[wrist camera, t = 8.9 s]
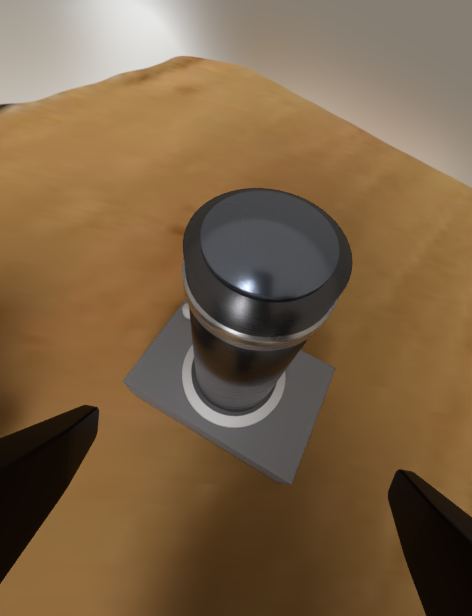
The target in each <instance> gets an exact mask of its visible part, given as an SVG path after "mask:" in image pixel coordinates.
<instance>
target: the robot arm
mask: <svg viewBox="0 0 472 616" xmlns="http://www.w3.org/2000/svg"><path fill="white" fill-rule="evenodd" d="M98 419H99V409H98V408H97V407H94V406H89V405H83V406H80V407H78V408H75V409H73V410H70V411H68V412H65V413H63V414H60V415H58V416H55V417H53V418H50V419H48V420H45V421H43V422H40V423H38V424H35V425H33V426H30V427H28V428H25V429H22V430H20V431H17V432H15V433H12V434H10V435H7V436H5V437H2V438H0V583H1V582H2V581H3V579H4V578H5V576H6V575H7V573H8V572H9V571H10V569H11V568H12V566H13V565H14V563H15V562H16V561H17V559H18V558H19V556H20V555H21V553H22V552H23V551H24V549H25V548H26V546H27V545H28V543H29V542H30V541H31V539H32V538H33V536H34V535H35V533H36V532H37V531H38V529H39V528H40V526H41V525H42V524H43V522H44V521H45V519H46V518H47V516H48V515H49V514H50V512H51V511H52V509H53V508H54V506H55V505H56V504H57V502H58V501H59V499H60V498H61V496H62V495H63V493H64V492H65V490H66V489H67V487H68V485H69V484H70V482H71V480H72V479H73V477H74V475H75V473H76V472H77V470H78V468H79V466H80V465H81V463H82V461H83V459H84V457H85V456H86V454H87V452H88V450H89V449H90V447H91V445H92V443H93V442H94V440H95V438H96V435H97V431H98ZM388 500H389V504H390V508H391V511H392V515H393V518H394V522H395V525H396V529H397V532H398V536H399V539H400V543H401V546H402V550H403V553H404V556H405V559H406V562H407V565H408V568H409V571H410V573H411V576H412V579H413V581H414V584H415V587H416V589H417V592H418V595H419V597H420V600H421V603H422V605H423V608H424V611H425V613H426V616H472V517H470V516H469V515H468V514H467V513H465V512H464V511H463V510H461V509H460V508H459V507H458V506H456V505H455V504H454V503H453V502H451V501H450V500H449V499H447V498H446V497H445V496H444V495H442V494H441V493H440V492H438V491H437V490H436V489H435V488H433V487H432V486H431V485H429V484H428V483H427V482H426V481H424V480H423V479H422V478H420V477H419V476H418V475H417V474H415V473H414V472H411V471H407V470H402V469H399V470H397V471H396V473H395V475H394V478H393V480H392V483H391V486H390V488H389V491H388Z"/></svg>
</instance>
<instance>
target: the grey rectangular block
mask: <svg viewBox="0 0 472 616" xmlns="http://www.w3.org/2000/svg"><path fill="white" fill-rule="evenodd" d="M334 370H335V367H333V366H331V365H329V364H327V363H325V362H323V361H321V360H319V359H317V358H315V357H313V356H312V355H310V354H308V353H306V352H304V351H302V350H300V351H299V352H298V354H297V355H296V356H295V358H294V359H293V360H292V362H291V363H290V365H289V366H288V367H287V369H286V370H285V372H284V373H283V374H282V376H281V377H280V378H279V380H278V381H277V383H276V384H275V385H274V387H273V388H272V389H271V391H270V392H269V394H268V395H267V396H266V398H265V399H264V400H263V401H262V402H261V403H260V404H258V405H257V406H255V407H254V408H252V409H249V410H246V411H242V412H230V411H225V410H222V409H219V408H217V407H215V406H214V405H212V404H211V403H210V402H209V401H208V400H207V399H206V398H205V397H204V396H203V394H202V393H201V391H200V389H199V387H198V384H197V379H196V370H195V361H194V351H193V341H192V331H191V322H190V312H189V305H188V303H187V300H186V299H185V301H184V302H183V303H182V304H181V306H180V307H179V308H178V310H177V311H176V312H175V314H174V315H173V316H172V318H171V319H170V320H169V321H168V323H167V324H166V325H165V327H164V328H163V329H162V331H161V332H160V333H159V335H158V336H157V337H156V338H155V340H154V341H153V342H152V344H151V345H150V346H149V348H148V349H147V350H146V351H145V353H144V354H143V355H142V357H141V358H140V359H139V361H138V362H137V363H136V365H135V366H134V367H133V368H132V370H131V371H130V372H129V374H128V375H127V376H126V378H125V379H124V380H123V382H124V383H125V385H126V386H127V387H128V388H129V389H130V390H131V391H132V393H133V394H134V395H136V396H137V397H139V398H141V399H142V400H144V401H145V402H147V403H149V404H150V405H152V406H154V407H155V408H157V409H158V410H160V411H162V412H163V413H165V414H167V415H168V416H170V417H171V418H173V419H175V420H176V421H178V422H180V423H181V424H183V425H184V426H186V427H188V428H189V429H191V430H193V431H194V432H196V433H197V434H199V435H201V436H202V437H204V438H206V439H207V440H209V441H211V442H212V443H214V444H215V445H217V446H219V447H220V448H222V449H224V450H225V451H227V452H228V453H230V454H232V455H233V456H235V457H237V458H238V459H240V460H241V461H243V462H245V463H246V464H248V465H250V466H251V467H253V468H254V469H256V470H258V471H259V472H261V473H263V474H264V475H266V476H267V477H269V478H271V479H272V480H274V481H276V482H277V483H280V484H292V482H293V479H294V477H295V474H296V472H297V469H298V466H299V464H300V461H301V458H302V456H303V453H304V450H305V448H306V445H307V442H308V440H309V437H310V434H311V432H312V429H313V426H314V424H315V421H316V418H317V416H318V413H319V410H320V408H321V405H322V402H323V400H324V397H325V394H326V392H327V389H328V386H329V384H330V381H331V378H332V376H333V373H334Z"/></svg>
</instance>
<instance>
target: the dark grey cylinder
mask: <svg viewBox="0 0 472 616" xmlns="http://www.w3.org/2000/svg"><path fill="white" fill-rule="evenodd" d="M183 254H184V258H183V264H182V275H183V284H184V292H185V296H186V300H187V303H188V305H189V312H190V322H191V331H192V341H193V351H194V361H195V370H196V379H197V384H198V387H199V389H200V391H201V393H202V394H203V396H204V397H205V398H206V399H207V400H208V401H209V402H210V403H211V404H212V405H214V406H215V407H217V408H219V409H222V410H225V411H230V412H242V411H246V410H249V409H252V408H254V407H255V406H257V405H258V404H260V403H261V402H262V401H263V400H264V399H265V398H266V396H267V395H268V394H269V392H270V391H271V389H272V388H273V387H274V385H275V384H276V383H277V381H278V380H279V378H280V377H281V376H282V374H283V373H284V372H285V370H286V369H287V367H288V366H289V365H290V363H291V362H292V360H293V359H294V358H295V356H296V355H297V354H298V352H299V351H300V349H301V348H302V347H303V345H304V344H305V343H306V341H307V340H308V338H310V337H311V336H312V335H313V334H315V333H316V332H317V331H318V329H319V328H320V327H321V326H322V325H323V323H324V322H325V321H326V319H327V318H328V317H329V315H330V314H331V312H332V311H333V310H334V308H335V306H336V304H337V301H338V298H339V296H340V294H341V293H342V292H343V290H344V289H345V287H346V285H347V283H348V281H349V279H350V275H351V271H352V253H351V250H350V246H349V243H348V241H347V238H346V236H345V235H344V233H343V231H342V230H341V228H340V227H339V226H338V224H337V223H336V222H335V221H334V220H333V219H332V218H331V217H330V216H329V215H328V214H327V213H326V212H325V211H323V210H322V209H321V208H319V207H318V206H316V205H315V204H313V203H311V202H309V201H307V200H306V199H303V198H301V197H299V196H296V195H293V194H290V193H287V192H283V191H279V190H273V189H264V188H249V189H240V190H235V191H231V192H228V193H224V194H222V195H220V196H217V197H215V198H213V199H212V200H210V201H208V202H207V203H205V204H204V205H203V206H202V207H200V208H199V209H198V210H197V211H196V212H195V214H194V215H193V216H192V218H191V219H190V221H189V223H188V225H187V227H186V230H185V233H184V239H183Z"/></svg>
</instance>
